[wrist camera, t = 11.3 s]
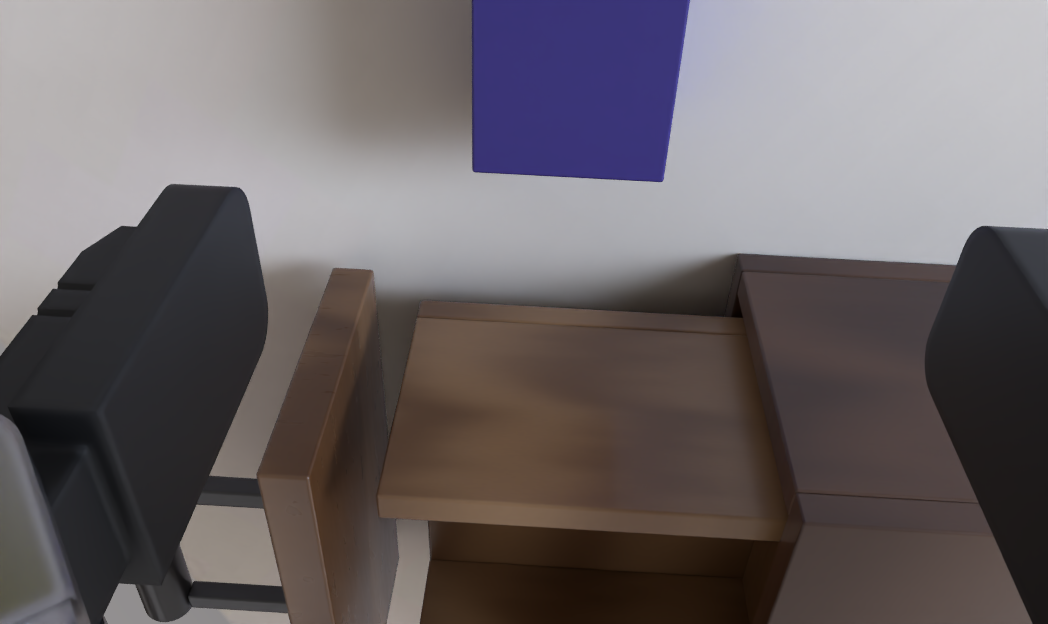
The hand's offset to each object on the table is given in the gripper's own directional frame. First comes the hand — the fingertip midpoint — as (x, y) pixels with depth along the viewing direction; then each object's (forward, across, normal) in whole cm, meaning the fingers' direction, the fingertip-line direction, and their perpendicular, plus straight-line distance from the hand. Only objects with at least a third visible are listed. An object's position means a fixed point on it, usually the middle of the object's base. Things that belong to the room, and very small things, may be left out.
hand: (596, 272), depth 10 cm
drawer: (+12, +2, +16) cm, 20 cm away
